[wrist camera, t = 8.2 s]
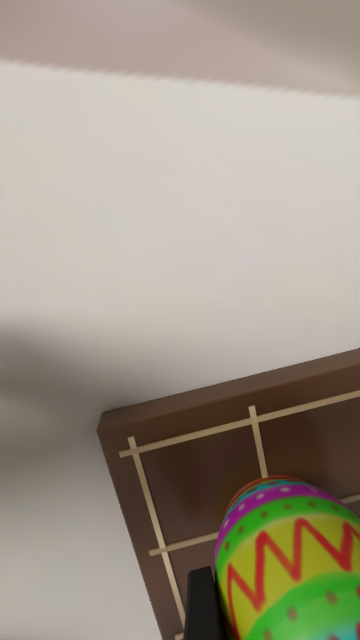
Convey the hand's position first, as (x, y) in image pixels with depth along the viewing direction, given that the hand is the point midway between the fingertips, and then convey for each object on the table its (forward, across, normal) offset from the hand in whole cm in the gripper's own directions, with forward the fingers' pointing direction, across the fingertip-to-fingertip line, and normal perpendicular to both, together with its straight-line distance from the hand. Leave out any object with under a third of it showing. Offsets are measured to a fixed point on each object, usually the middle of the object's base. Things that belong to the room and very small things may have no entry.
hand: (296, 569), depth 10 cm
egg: (+2, 0, 0) cm, 2 cm away
